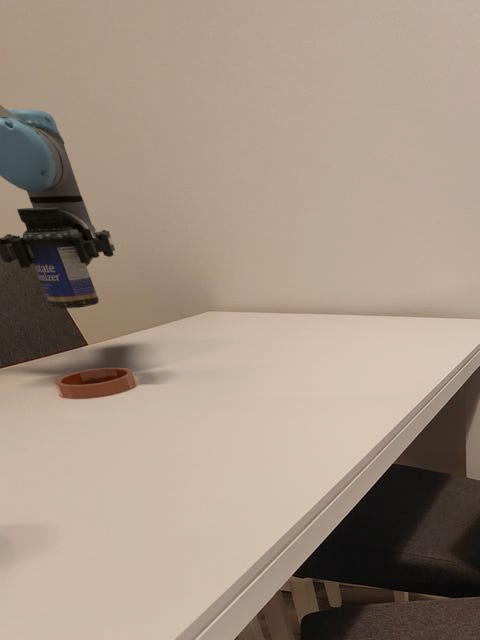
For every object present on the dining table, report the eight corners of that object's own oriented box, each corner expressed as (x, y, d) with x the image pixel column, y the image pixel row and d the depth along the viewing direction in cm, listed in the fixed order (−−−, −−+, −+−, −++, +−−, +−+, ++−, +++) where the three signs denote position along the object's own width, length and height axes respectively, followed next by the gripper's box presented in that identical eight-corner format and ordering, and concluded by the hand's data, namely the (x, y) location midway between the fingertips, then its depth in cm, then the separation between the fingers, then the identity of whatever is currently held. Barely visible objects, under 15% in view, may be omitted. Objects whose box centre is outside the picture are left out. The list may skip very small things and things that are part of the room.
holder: (51, 414, 80) (39, 387, 78) (89, 393, 88) (79, 368, 86) (122, 412, 80) (111, 385, 78) (154, 391, 88) (145, 366, 85)
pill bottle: (40, 308, 81) (-2, 209, 74) (79, 301, 85) (42, 207, 78) (73, 310, 79) (32, 209, 72) (110, 302, 83) (75, 206, 77)
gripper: (141, 264, 96) (142, 280, 80) (6, 273, 90) (-23, 292, 74) (123, 207, 92) (120, 212, 75) (-21, 213, 86) (-58, 219, 69)
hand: (49, 252), depth 74 cm, fingers closed on pill bottle, 6 cm apart
